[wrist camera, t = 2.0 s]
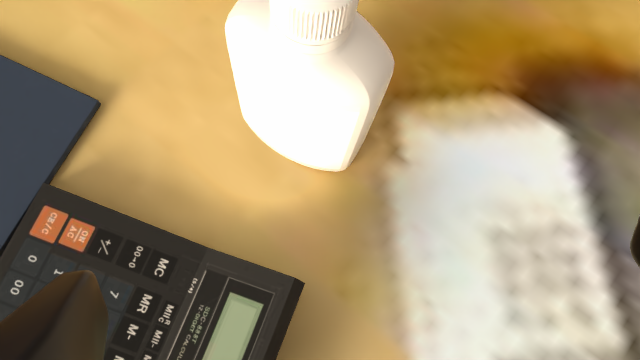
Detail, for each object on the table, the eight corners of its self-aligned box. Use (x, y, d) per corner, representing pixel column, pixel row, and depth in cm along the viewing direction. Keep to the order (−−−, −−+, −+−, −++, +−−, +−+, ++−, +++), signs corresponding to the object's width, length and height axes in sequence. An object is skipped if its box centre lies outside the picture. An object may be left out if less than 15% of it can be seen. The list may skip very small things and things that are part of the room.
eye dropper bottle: (292, 202, 22) (299, 71, 10) (231, 100, 23) (174, -123, 11) (374, 155, 22) (468, -15, 11) (312, 59, 23) (336, -188, 12)
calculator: (52, 187, 21) (15, 167, 18) (303, 286, 21) (305, 282, 18) (-72, 408, 18) (-139, 426, 16) (210, 527, 18) (195, 567, 15)
